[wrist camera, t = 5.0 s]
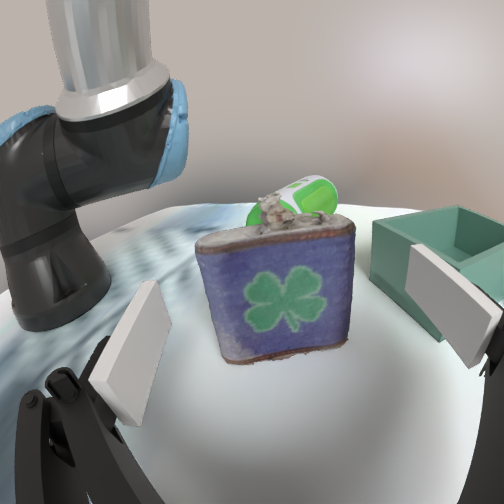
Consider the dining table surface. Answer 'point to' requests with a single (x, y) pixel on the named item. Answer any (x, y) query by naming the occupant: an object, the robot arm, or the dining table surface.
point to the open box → (438, 252)
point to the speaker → (303, 198)
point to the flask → (279, 283)
